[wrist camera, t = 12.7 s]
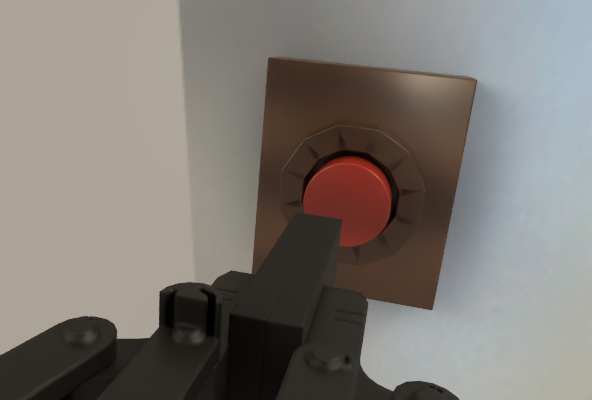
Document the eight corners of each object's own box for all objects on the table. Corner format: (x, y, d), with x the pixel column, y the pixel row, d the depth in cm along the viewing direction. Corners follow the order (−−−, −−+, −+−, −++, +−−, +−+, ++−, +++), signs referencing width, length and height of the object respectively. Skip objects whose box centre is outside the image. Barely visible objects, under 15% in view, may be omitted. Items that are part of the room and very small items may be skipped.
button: (314, 150, 25) (307, 157, 23) (397, 161, 24) (397, 169, 23) (305, 227, 26) (298, 239, 24) (385, 240, 25) (383, 253, 24)
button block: (278, 56, 28) (258, 57, 24) (472, 77, 26) (482, 82, 22) (261, 262, 31) (241, 291, 27) (431, 292, 30) (434, 327, 26)
